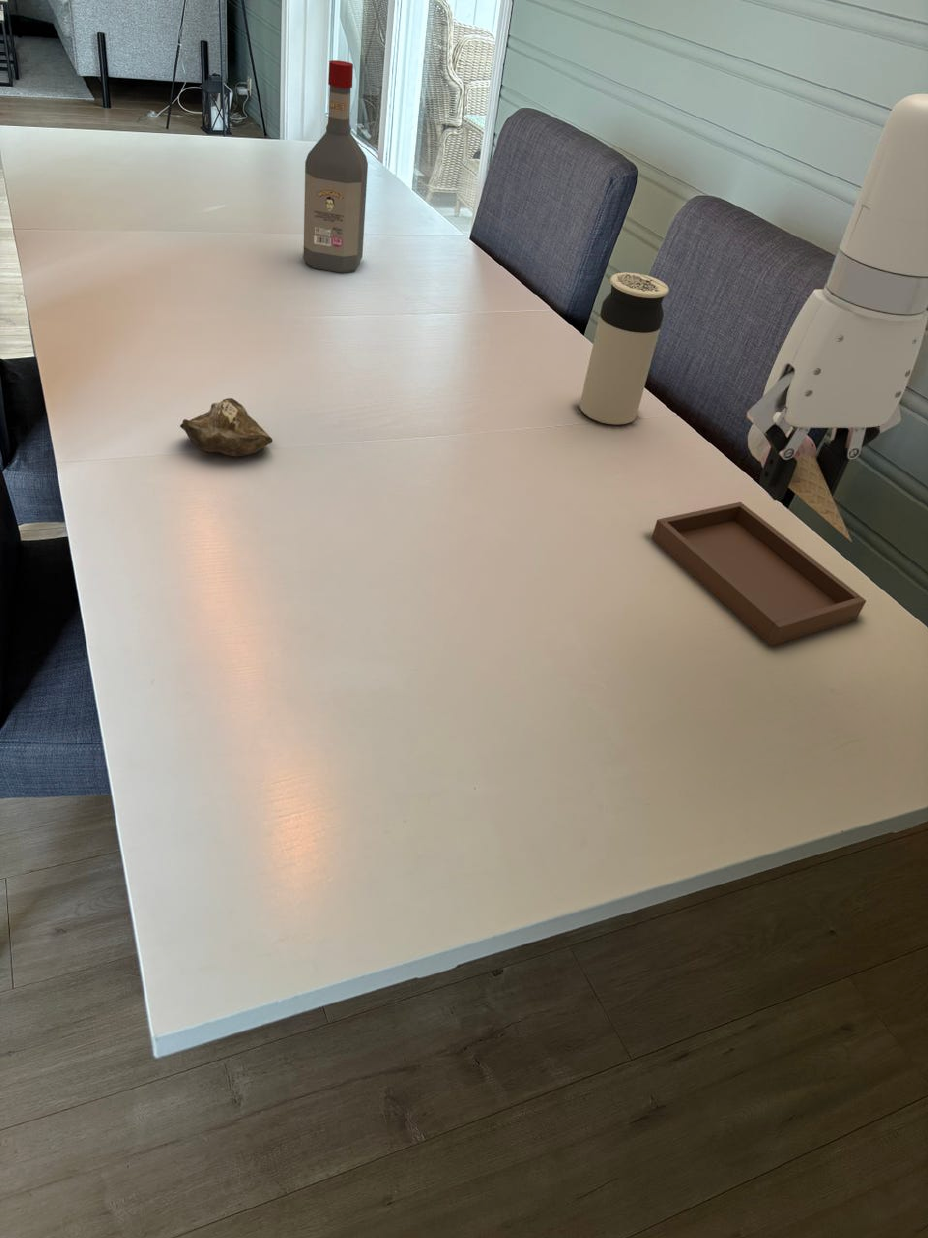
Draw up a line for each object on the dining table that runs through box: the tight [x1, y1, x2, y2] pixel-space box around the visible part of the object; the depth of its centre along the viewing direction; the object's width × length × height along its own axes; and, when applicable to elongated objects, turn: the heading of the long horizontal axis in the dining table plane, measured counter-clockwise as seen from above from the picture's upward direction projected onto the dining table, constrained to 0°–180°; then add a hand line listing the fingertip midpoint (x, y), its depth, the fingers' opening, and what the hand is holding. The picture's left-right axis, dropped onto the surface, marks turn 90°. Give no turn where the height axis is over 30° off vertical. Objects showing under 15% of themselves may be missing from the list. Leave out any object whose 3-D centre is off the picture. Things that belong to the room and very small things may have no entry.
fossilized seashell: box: [179, 397, 273, 458], centre depth 104 cm, size 8×7×10 cm
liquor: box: [302, 59, 369, 274], centre depth 148 cm, size 9×9×30 cm
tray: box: [651, 501, 867, 647], centre depth 99 cm, size 20×13×2 cm, turn 29°
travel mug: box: [578, 272, 670, 426], centre depth 120 cm, size 8×8×18 cm
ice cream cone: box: [747, 411, 853, 543], centre depth 79 cm, size 5×5×15 cm
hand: (795, 489), depth 80 cm, fingers closed on ice cream cone, 4 cm apart
